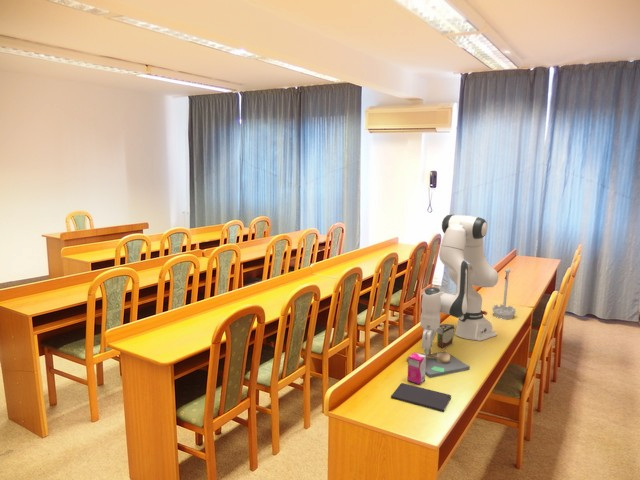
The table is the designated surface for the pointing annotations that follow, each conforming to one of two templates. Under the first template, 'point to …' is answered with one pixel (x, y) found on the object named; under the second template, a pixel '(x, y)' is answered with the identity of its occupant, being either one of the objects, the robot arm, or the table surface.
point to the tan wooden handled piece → (439, 357)
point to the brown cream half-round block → (445, 335)
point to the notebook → (421, 397)
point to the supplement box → (416, 368)
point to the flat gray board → (443, 366)
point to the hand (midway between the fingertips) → (428, 350)
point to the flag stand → (504, 303)
